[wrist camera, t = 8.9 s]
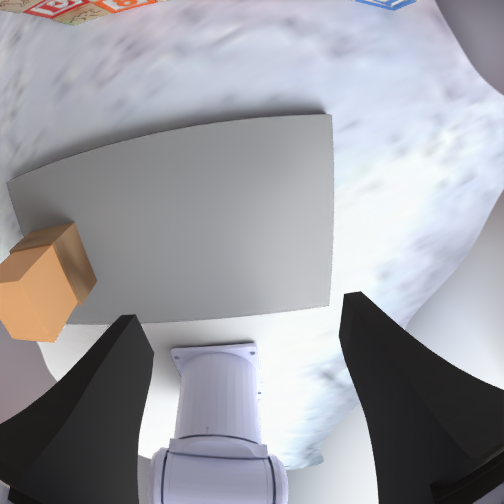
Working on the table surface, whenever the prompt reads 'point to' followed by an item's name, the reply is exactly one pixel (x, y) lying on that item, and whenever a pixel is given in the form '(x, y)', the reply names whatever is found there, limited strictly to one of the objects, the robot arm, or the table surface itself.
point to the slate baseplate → (196, 219)
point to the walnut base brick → (65, 256)
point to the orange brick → (34, 295)
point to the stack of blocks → (114, 7)
